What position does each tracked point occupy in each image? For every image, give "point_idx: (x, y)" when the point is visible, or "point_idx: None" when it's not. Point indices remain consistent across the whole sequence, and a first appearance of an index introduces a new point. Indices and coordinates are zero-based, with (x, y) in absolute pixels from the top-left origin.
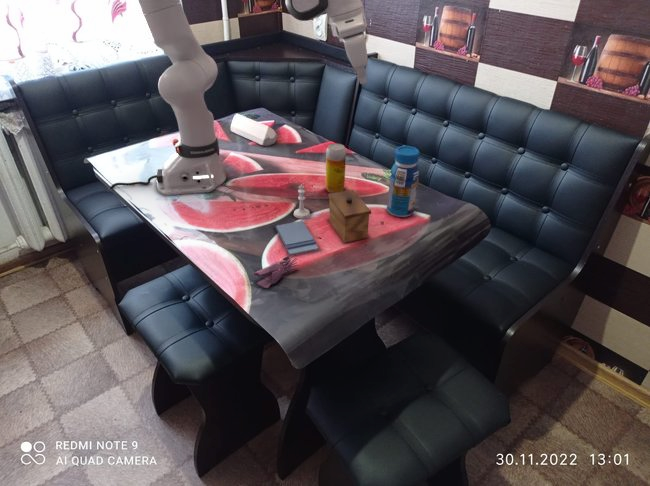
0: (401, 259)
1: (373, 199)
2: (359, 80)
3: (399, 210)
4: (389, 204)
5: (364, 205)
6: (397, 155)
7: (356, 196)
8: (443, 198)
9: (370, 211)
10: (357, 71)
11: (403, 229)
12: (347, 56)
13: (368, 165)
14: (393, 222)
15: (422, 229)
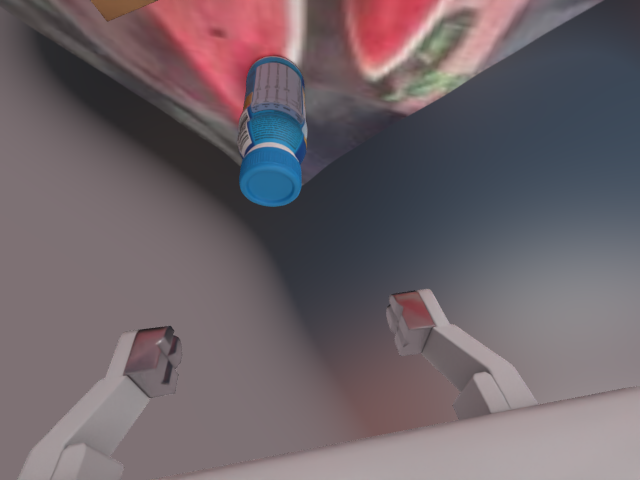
0: (82, 54)
1: (328, 26)
2: (114, 355)
3: (246, 85)
4: (262, 68)
5: (130, 3)
6: (252, 162)
7: None
8: (322, 161)
9: (106, 18)
10: (35, 452)
11: (202, 77)
12: (581, 437)
13: (511, 38)
14: (225, 60)
15: (211, 112)
